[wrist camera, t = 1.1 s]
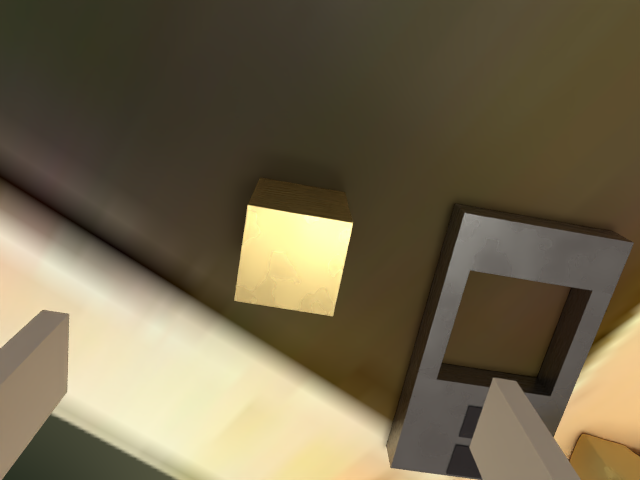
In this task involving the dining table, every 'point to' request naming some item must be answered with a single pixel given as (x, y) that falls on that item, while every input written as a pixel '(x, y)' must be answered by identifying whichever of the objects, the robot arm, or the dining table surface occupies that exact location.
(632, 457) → the cheese
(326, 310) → the yellow cube
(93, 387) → the dining table surface
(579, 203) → the dining table surface
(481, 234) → the metal plate
